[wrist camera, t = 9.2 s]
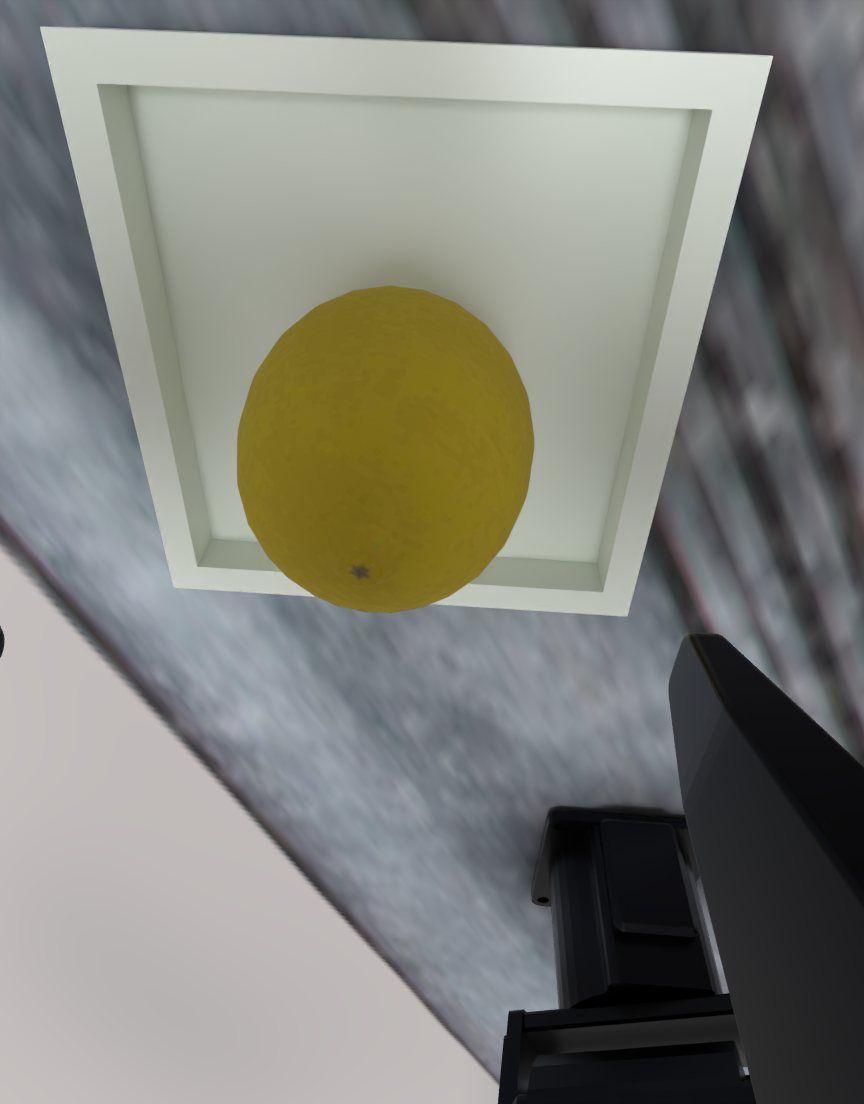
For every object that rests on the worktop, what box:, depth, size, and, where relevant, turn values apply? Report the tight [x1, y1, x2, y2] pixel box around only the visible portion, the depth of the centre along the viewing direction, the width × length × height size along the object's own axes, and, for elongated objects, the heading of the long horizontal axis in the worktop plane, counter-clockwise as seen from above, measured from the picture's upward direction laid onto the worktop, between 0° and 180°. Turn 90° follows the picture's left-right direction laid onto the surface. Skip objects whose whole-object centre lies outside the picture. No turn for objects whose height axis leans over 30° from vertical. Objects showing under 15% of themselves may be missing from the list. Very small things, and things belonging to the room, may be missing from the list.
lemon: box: [237, 285, 534, 613], centre depth 14 cm, size 6×6×8 cm
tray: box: [40, 27, 773, 617], centre depth 17 cm, size 13×13×2 cm
